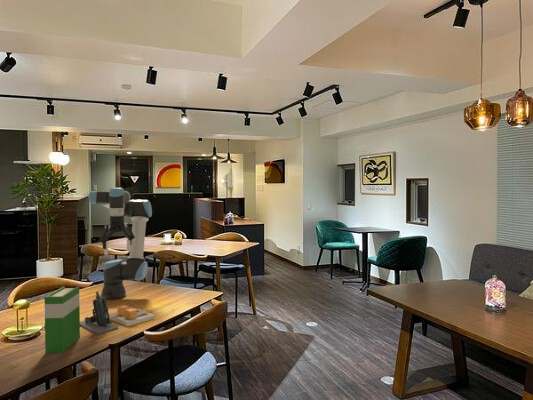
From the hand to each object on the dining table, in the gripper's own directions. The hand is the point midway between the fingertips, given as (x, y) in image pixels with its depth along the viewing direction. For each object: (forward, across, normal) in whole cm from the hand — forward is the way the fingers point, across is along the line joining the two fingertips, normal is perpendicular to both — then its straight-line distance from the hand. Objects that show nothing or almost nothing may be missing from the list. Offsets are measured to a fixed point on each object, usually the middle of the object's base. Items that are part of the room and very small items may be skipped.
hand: (117, 253), depth 223 cm
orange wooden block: (+31, -5, -14) cm, 34 cm away
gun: (+32, -20, -15) cm, 41 cm away
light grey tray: (+33, -2, -18) cm, 38 cm away
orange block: (+31, -5, -22) cm, 38 cm away
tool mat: (+33, -20, -15) cm, 41 cm away
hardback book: (+32, -41, -26) cm, 58 cm away
